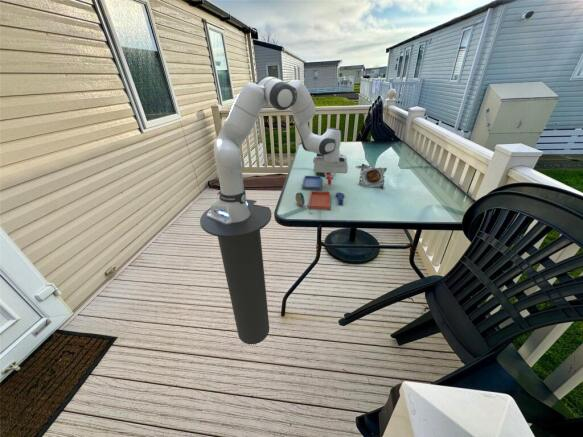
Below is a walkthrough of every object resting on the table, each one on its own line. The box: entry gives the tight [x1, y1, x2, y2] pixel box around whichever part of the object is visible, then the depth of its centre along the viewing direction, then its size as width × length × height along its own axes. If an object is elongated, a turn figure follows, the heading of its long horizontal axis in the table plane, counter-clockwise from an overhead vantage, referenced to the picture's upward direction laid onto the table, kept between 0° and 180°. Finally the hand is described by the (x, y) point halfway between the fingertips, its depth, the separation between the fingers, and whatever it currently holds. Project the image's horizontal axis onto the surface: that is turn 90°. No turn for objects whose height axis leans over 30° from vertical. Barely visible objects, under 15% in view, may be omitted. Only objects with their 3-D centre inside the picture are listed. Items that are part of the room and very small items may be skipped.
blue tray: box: [301, 175, 322, 191], centre depth 159 cm, size 18×11×2 cm, turn 172°
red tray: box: [308, 190, 331, 211], centre depth 138 cm, size 18×11×2 cm, turn 172°
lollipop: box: [295, 191, 312, 214], centre depth 131 cm, size 7×1×15 cm
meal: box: [358, 163, 388, 189], centre depth 152 cm, size 15×4×13 cm, turn 68°
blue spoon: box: [335, 191, 345, 206], centre depth 139 cm, size 13×4×3 cm, turn 172°
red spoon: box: [327, 173, 333, 186], centre depth 151 cm, size 13×4×3 cm, turn 172°
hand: (329, 179), depth 149 cm, fingers closed on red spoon, 2 cm apart
